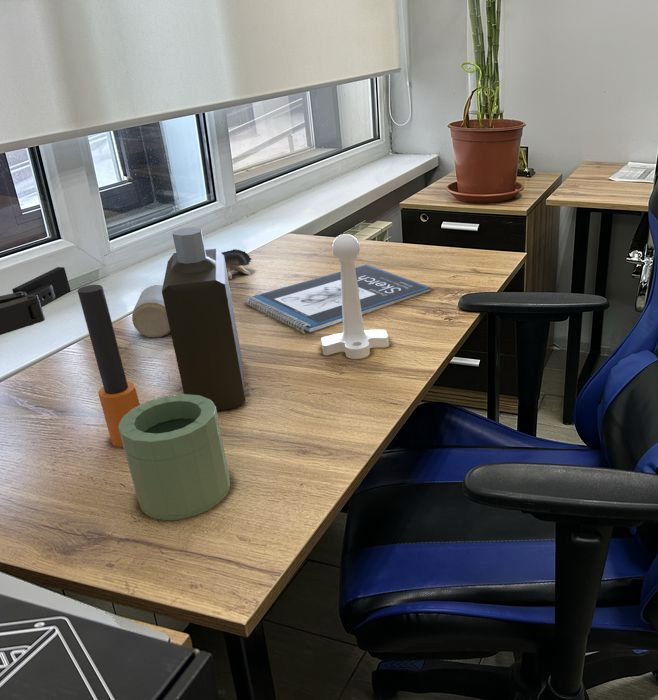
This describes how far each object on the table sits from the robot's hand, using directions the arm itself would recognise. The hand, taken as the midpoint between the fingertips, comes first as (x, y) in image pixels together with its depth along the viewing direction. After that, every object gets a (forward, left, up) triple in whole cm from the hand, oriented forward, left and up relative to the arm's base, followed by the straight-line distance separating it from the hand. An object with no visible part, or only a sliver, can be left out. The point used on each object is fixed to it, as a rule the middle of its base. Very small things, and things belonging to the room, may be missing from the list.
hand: (8, 276), depth 76 cm
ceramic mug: (-13, +45, -27) cm, 54 cm away
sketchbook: (+13, +64, -27) cm, 70 cm away
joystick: (+24, +41, -27) cm, 54 cm away
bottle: (+7, +25, -27) cm, 37 cm away
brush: (+2, +10, -27) cm, 29 cm away
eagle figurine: (-15, +73, -27) cm, 79 cm away
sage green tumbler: (+16, 0, -27) cm, 31 cm away
